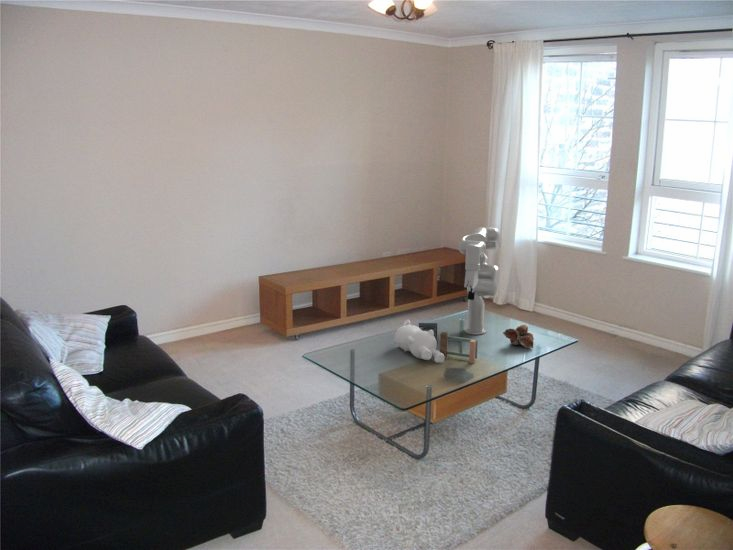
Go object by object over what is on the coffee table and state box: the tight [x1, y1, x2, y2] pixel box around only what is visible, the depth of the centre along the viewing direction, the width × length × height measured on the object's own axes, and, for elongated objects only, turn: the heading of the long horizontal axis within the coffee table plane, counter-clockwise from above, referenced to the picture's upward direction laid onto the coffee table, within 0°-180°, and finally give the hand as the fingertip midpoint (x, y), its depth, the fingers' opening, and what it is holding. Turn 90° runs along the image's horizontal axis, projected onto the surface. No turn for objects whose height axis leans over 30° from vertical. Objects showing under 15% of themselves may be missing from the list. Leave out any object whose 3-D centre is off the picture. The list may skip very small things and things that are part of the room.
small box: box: [418, 322, 438, 343], centre depth 373 cm, size 11×6×10 cm, turn 84°
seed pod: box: [502, 324, 535, 349], centre depth 368 cm, size 14×18×16 cm
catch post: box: [468, 340, 476, 364], centre depth 343 cm, size 2×2×12 cm
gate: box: [447, 335, 479, 359], centre depth 349 cm, size 18×2×11 cm, turn 68°
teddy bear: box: [393, 319, 446, 364], centre depth 354 cm, size 19×18×35 cm
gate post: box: [439, 331, 449, 360], centre depth 349 cm, size 3×3×14 cm
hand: (471, 299), depth 361 cm, fingers closed
